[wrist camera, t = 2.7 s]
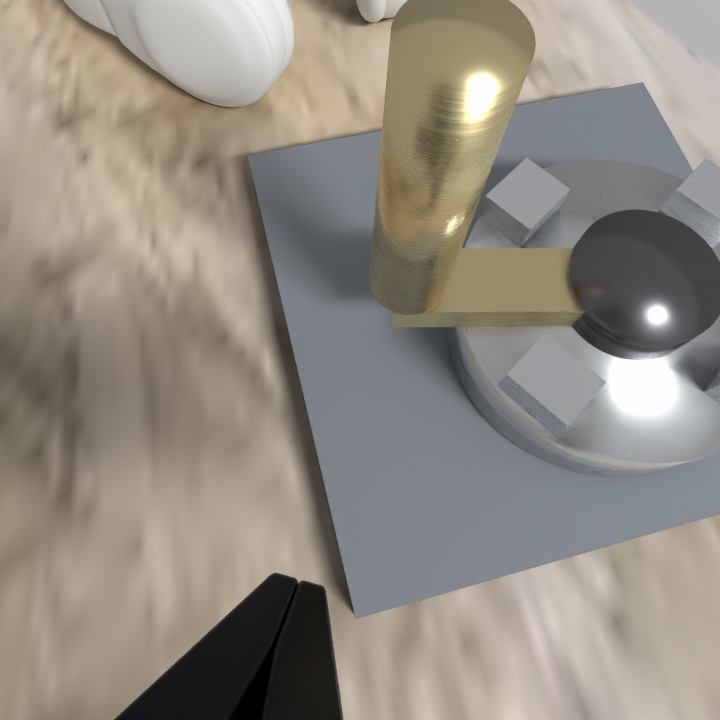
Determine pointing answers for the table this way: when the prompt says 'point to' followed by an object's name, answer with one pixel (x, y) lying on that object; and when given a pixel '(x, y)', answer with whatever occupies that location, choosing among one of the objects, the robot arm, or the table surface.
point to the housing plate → (444, 378)
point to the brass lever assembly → (544, 259)
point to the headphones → (211, 40)
